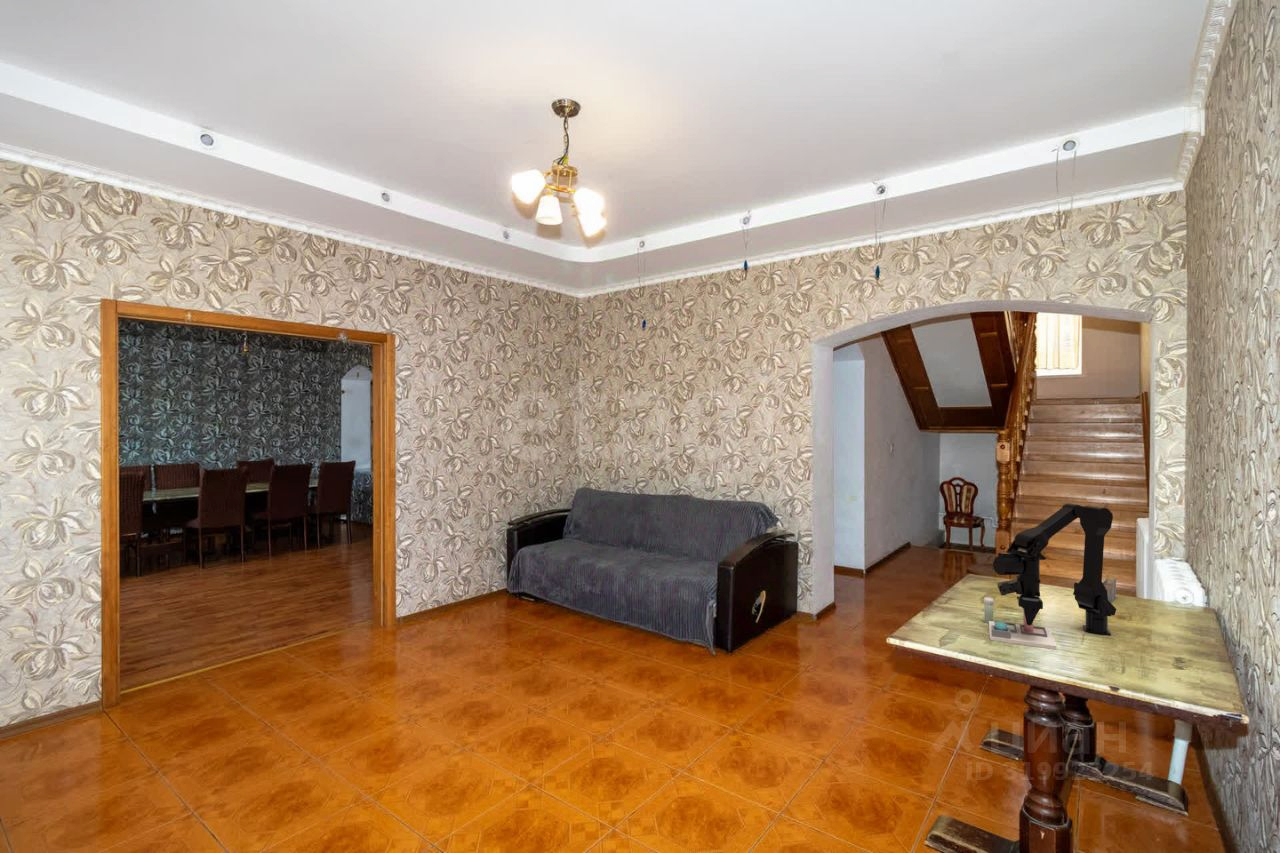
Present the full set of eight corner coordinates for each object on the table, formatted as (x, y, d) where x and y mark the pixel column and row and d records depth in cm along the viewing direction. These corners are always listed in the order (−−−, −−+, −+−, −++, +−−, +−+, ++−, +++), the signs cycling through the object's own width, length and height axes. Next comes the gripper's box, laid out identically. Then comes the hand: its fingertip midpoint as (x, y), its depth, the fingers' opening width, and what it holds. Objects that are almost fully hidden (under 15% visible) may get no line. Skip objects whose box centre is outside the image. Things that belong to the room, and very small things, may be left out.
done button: (995, 628, 192) (995, 621, 192) (1006, 630, 191) (1006, 622, 191) (995, 631, 190) (995, 623, 190) (1006, 633, 188) (1006, 625, 188)
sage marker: (984, 620, 208) (984, 596, 208) (993, 621, 206) (993, 597, 206) (984, 622, 205) (984, 598, 205) (993, 624, 204) (993, 599, 204)
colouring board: (988, 624, 204) (988, 614, 204) (1050, 632, 196) (1050, 622, 196) (989, 639, 189) (989, 630, 189) (1056, 649, 181) (1056, 639, 181)
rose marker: (1033, 630, 194) (1033, 604, 194) (1033, 632, 191) (1033, 606, 191) (1023, 628, 195) (1023, 603, 195) (1023, 631, 193) (1023, 605, 193)
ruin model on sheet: (1106, 597, 237) (1106, 571, 237) (1116, 598, 235) (1116, 573, 235) (1100, 603, 229) (1100, 576, 229) (1110, 604, 227) (1110, 578, 227)
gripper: (998, 565, 205) (998, 611, 205) (999, 577, 189) (999, 628, 189) (1038, 568, 200) (1037, 616, 200) (1043, 581, 183) (1043, 634, 183)
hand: (1028, 623), depth 193 cm, fingers closed on rose marker, 3 cm apart
